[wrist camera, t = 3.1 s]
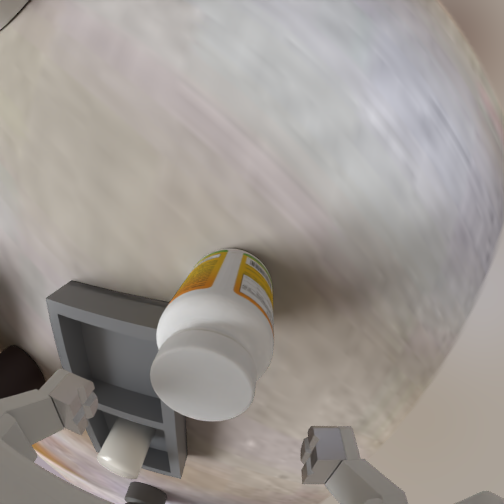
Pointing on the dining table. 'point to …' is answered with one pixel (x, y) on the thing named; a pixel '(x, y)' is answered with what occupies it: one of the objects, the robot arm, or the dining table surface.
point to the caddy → (118, 365)
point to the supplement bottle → (215, 337)
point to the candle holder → (144, 494)
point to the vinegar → (18, 373)
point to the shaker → (126, 448)
